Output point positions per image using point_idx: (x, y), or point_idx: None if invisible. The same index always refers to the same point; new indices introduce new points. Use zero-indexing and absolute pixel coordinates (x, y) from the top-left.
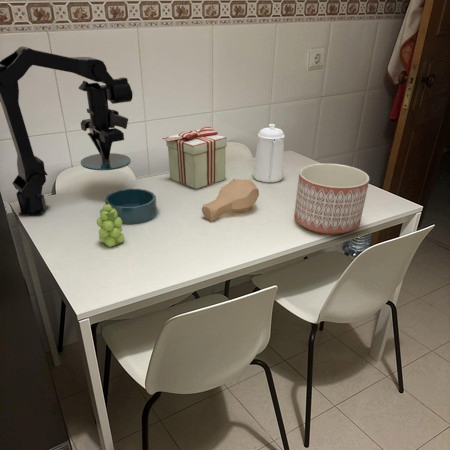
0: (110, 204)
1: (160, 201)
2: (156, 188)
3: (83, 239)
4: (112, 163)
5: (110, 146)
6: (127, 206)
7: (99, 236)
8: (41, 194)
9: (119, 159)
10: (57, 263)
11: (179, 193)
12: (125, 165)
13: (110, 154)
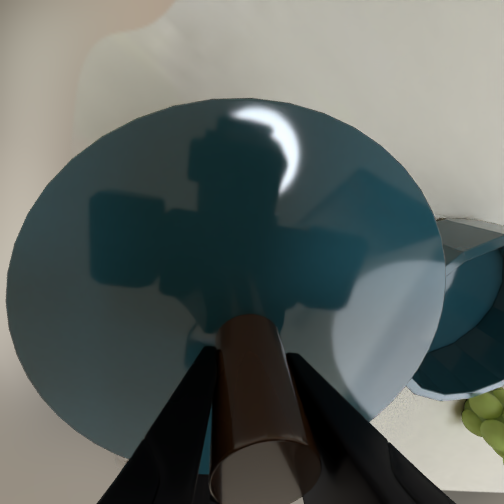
0: (455, 399)
1: (460, 155)
2: (357, 45)
3: (417, 432)
4: (342, 337)
5: (431, 496)
6: None
7: (475, 434)
8: (212, 499)
9: (310, 241)
10: (437, 482)
11: (494, 5)
12: (442, 282)
13: (102, 212)
